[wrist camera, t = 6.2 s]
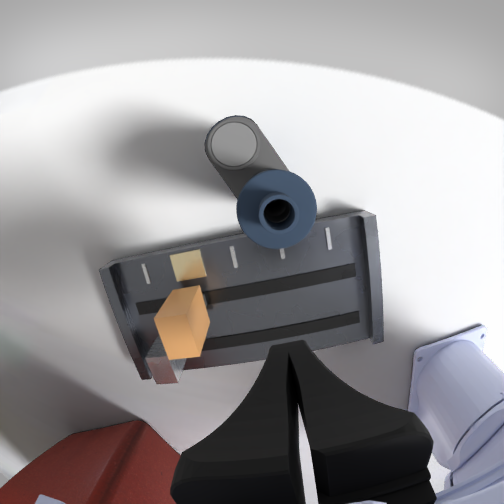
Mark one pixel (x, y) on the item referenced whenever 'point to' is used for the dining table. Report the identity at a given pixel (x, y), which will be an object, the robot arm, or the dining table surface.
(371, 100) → the dining table surface
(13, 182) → the dining table surface
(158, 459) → the plant pot
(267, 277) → the mixer console
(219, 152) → the vaping device
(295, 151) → the dining table surface
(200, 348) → the orange fader
